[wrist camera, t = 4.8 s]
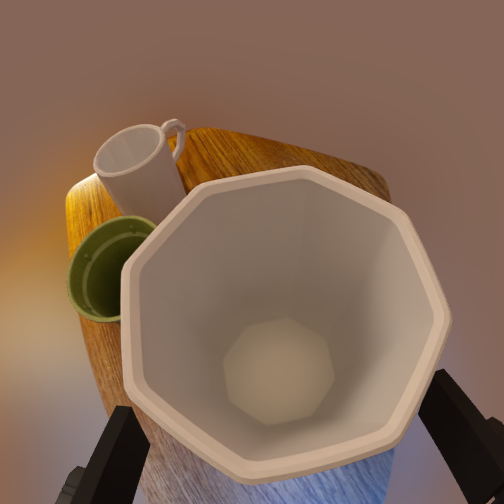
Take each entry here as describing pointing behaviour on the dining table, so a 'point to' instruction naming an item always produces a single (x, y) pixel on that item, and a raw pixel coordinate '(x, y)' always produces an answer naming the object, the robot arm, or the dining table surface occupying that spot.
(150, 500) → the dining table surface
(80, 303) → the plant pot
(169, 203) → the mug
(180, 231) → the cup
